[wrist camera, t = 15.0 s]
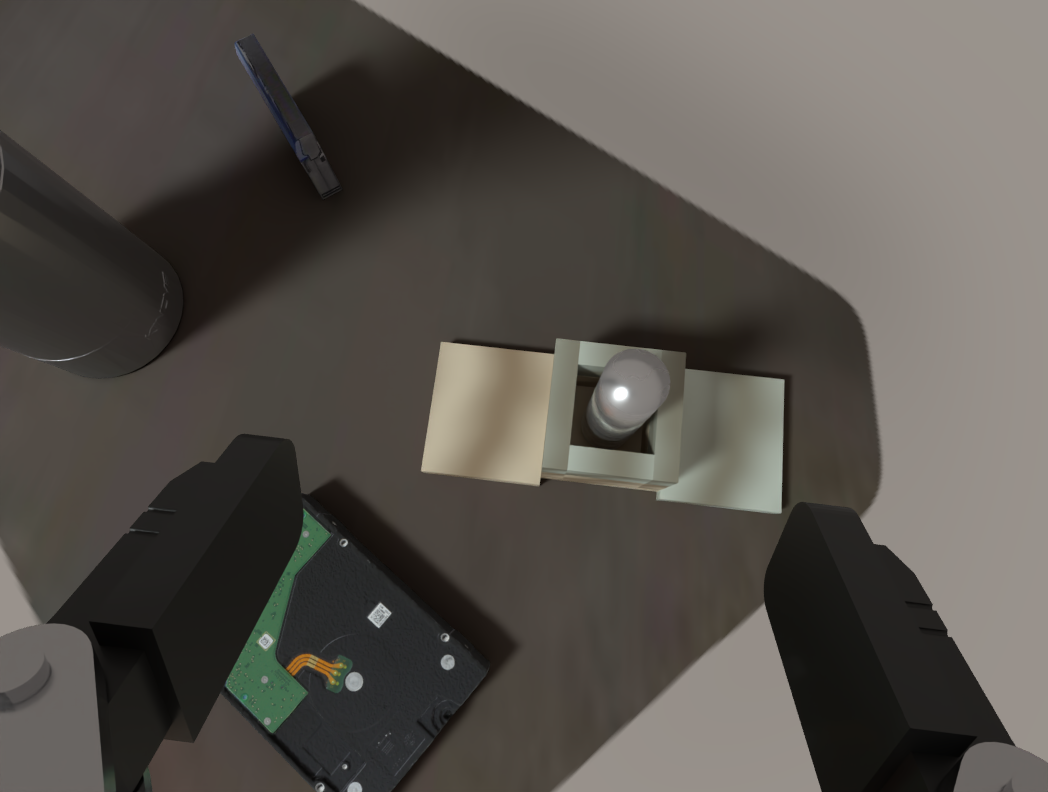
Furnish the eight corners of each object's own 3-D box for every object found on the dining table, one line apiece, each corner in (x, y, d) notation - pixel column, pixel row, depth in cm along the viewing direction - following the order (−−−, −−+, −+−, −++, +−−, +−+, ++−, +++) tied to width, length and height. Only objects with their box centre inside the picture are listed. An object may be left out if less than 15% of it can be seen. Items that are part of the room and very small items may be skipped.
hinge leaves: (424, 472, 38) (406, 460, 32) (443, 346, 39) (429, 315, 34) (774, 514, 37) (816, 508, 31) (777, 383, 39) (818, 358, 33)
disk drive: (494, 658, 36) (308, 491, 38) (492, 668, 33) (292, 487, 35) (371, 814, 34) (183, 630, 36) (358, 838, 31) (155, 637, 33)
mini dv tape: (270, 110, 44) (230, 43, 38) (289, 100, 44) (252, 32, 38) (323, 200, 42) (290, 145, 36) (343, 190, 42) (313, 133, 36)
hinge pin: (578, 446, 37) (598, 410, 27) (583, 397, 37) (605, 344, 28) (629, 453, 37) (667, 418, 27) (633, 404, 37) (672, 353, 28)
